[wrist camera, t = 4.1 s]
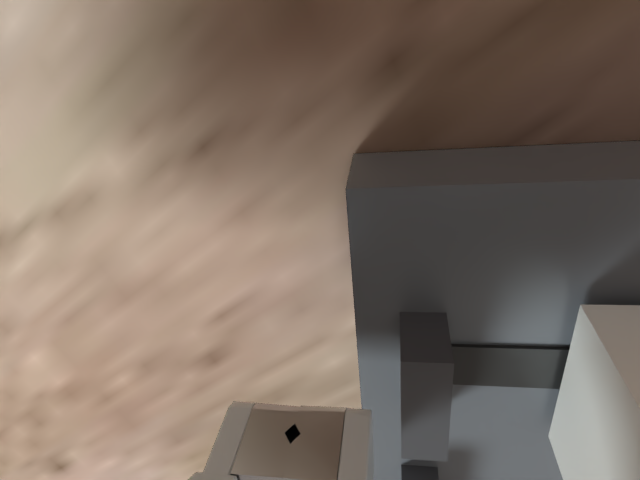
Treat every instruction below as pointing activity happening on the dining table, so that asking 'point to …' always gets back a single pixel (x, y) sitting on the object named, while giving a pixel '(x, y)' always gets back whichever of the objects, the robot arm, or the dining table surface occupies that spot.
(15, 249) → the dining table surface
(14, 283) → the dining table surface
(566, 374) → the fader
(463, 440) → the console
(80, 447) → the dining table surface
